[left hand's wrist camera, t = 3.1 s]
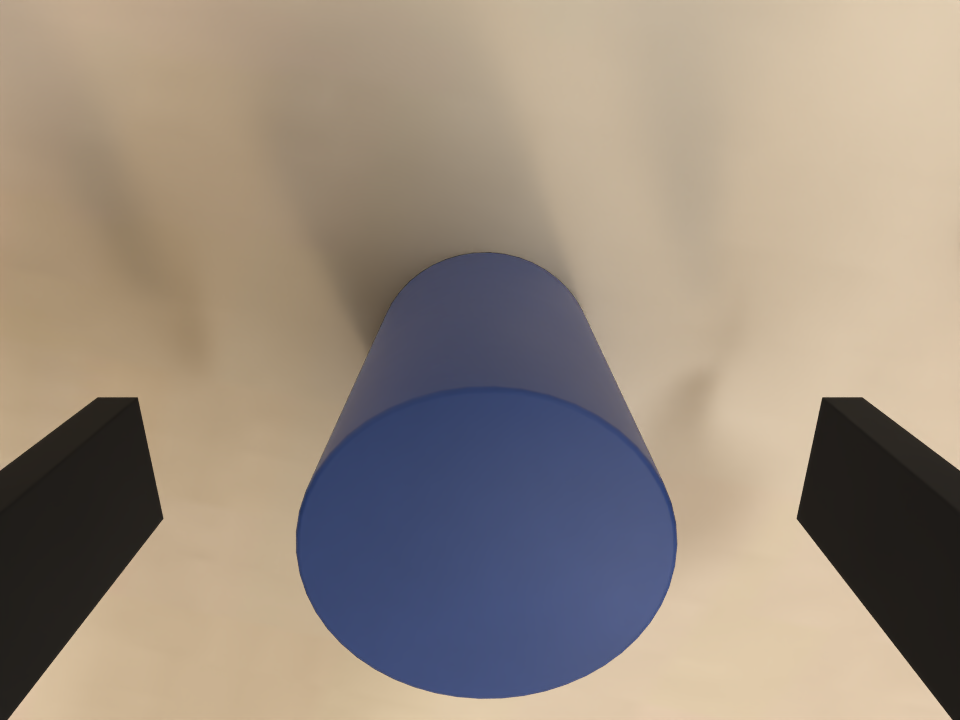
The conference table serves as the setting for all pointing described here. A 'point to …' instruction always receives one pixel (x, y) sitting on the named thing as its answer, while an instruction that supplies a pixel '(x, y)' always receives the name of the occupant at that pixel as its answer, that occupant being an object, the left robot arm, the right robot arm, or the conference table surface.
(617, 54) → the conference table surface
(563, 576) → the can
